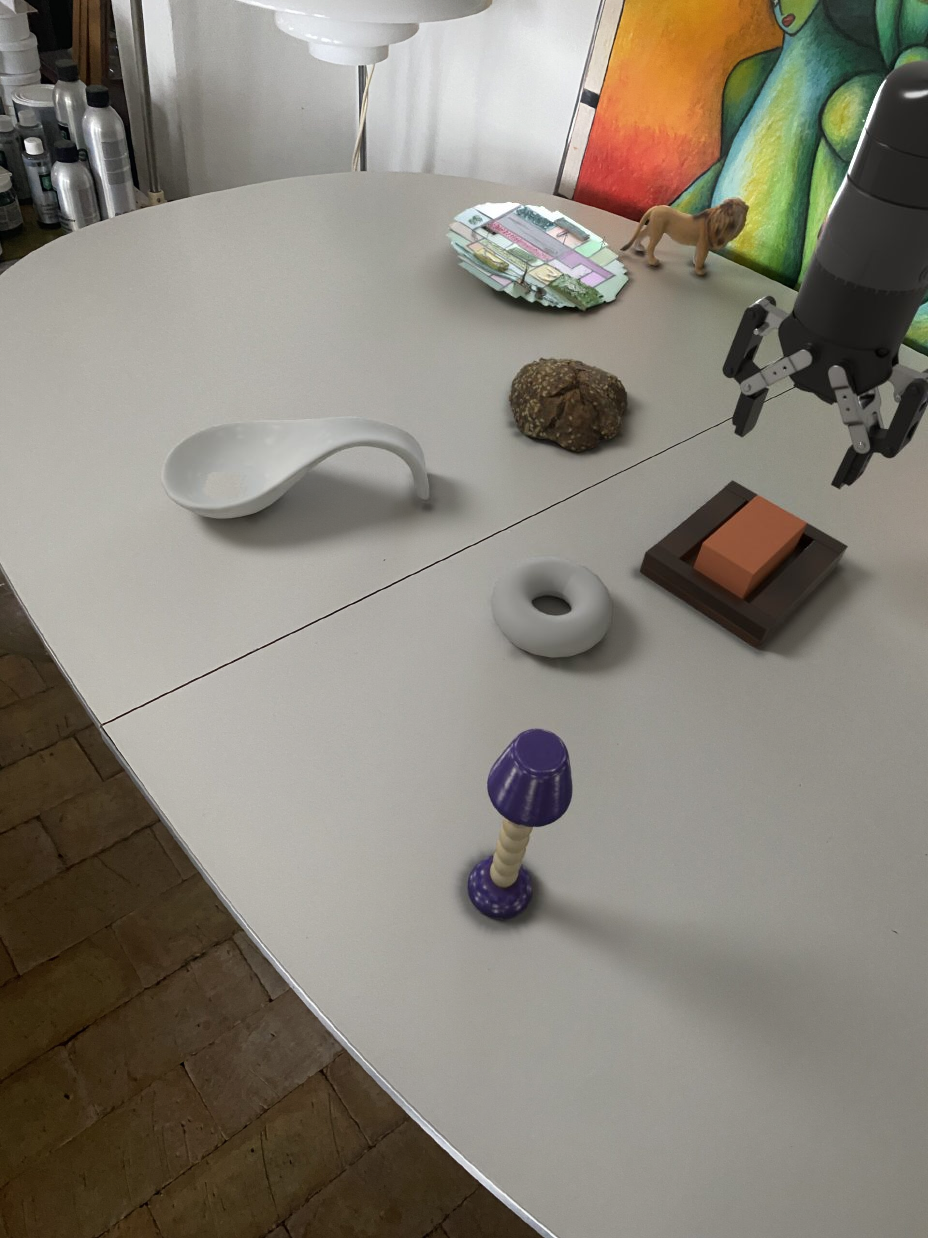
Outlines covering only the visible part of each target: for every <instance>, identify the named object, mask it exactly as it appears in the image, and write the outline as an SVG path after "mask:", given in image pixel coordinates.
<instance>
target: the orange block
mask: <svg viewBox="0 0 928 1238" xmlns="http://www.w3.org/2000/svg"><path fill="white" fill-rule="evenodd" d="M807 523H808V522H807V521H805V520H803V519H801V518H800V517H798V516H797V515H795V514H793V513H791V512H790V511H788V510H785V508H782V507H780V506H779V505H777V504H775V503H773V502H771V501H770V500H768V499H766V498H765V497H763V496H761V495H759V494H758V495H757V496H756V497H755V498H754V499H753V500H752V501H750V502H749V503H748V504H747V505H746V506H745V507H744V508H742V509H741V510H740V511H739V512H738V513H737V514H736V515H734V516H733V517H732V518H731V519H730V520H729V521H728V522H726V523H725V524H724V525H723V526H722V527H721V528H719V529H718V530H717V531H716V532H715V533H714V534H713V535H711V536H710V537H709V538H708V539H707V540H706V541H705V542H703V544H702V547H701V549H700V552H699V555H698V557H697V560H696V563H695V565H694V569H696V570H697V571H699V572H701V573H702V574H704V575H705V576H707V577H708V578H710V579H712V580H713V581H715V582H716V583H718V584H719V585H721V586H723V587H724V588H726V589H727V590H729V591H731V592H732V593H734V594H735V595H737V596H738V597H740V598H742V599H743V600H744V599H745V598H746V597H747V596H748V595H749V594H750V593H751V592H752V591H753V590H754V589H755V588H757V587H758V586H759V585H760V584H761V583H762V582H763V581H764V580H765V579H766V578H767V577H768V576H769V575H770V574H771V573H772V572H773V571H774V570H775V569H776V568H777V567H778V566H779V565H780V564H781V563H782V562H783V561H784V560H785V559H786V558H787V557H788V556H789V555H790V554H791V553H792V552H793V551H794V550H795V548H796V546H797V544H798V542H799V539H800V537H801V535H802V533H803V531H804V529H805V527H806V525H807Z"/></svg>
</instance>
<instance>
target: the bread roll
mask: <svg viewBox="0 0 928 1238" xmlns="http://www.w3.org/2000/svg"><path fill="white" fill-rule="evenodd" d="M508 401H509V402H510V403H509V407H510V409H511V412H512V413H513V418H514V421H515V425H516V428H517V429H518V430H519V431H520V432H521V433H522V434H523V435H524V436H527V437H530V438H536V439H542V440H551V441H553V442H554V443H557V444H559V445H560V446H561V447H562V448H563V449H565V450H568V451H572V452H576V453H579V452H583V451H588V450H590V449H593V448H595V447H596V446H597V445H598V443H599V442H602V441H608V440H611V439H614V438H615V437H616V436H618V432H619V430H620V429H621V428H622V424H623V421H622V416H623V413H624V412H625V410H626V409H627V407H628V405H629V404H628V391H626V387H625V386H624V384H623V382H622V380H620V379H618V376H617V375H615V374H613V373H610V372H608V371H606V370H603V369H601V368H599V367H597V366H595V365H594V366H591V365H589V364H586V363H584V362H583V361H581V360H576V359H572V358H560V359H557V358H554V357H550V358H544V357H540V358H539V359H538V361H537V360H533V362H531V363H526V364H524V365H523V366H522V367H521V368H520V370H519V372H517V373H516V376H514V378H513V380H512V382H511V386H510V395H509V396H508Z"/></svg>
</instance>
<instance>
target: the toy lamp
mask: <svg viewBox="0 0 928 1238" xmlns="http://www.w3.org/2000/svg"><path fill="white" fill-rule="evenodd" d="M572 776H573V775H572V768H571V759H570V754H569V750H568V748H567V745H566V743H565V742H564V740H562V738H561V737H560V736H558V735H557V734H556V733H554V732H552V731H551V730H547V729H544V728H529V729H526V730H524V731H522V732H519V734H518V735H517V736H515V737H514V738H513V739H512V741H510V743H509V744H508V745H507V746H506V748H505V749H504V750H503V752H502V753H501V754H500V755H499V756H498V757H497V758H496V760H495V762H494V763H493V764H492V766H491V768H490V770H489V773H488V776H487V781H486V782H487V783H486V784H487V785H486V790H487V795H488V798H489V801H490V802H491V804H492V806H493V808H494V809H495V810H496V811H497V813H498V814H499V815H500V816H502V817H503V819H502V826H501V827H500V829H499V833H498V840H497V842H496V845H495V852H494V854H493V855H489V856H487V857H484V858H482V859H481V860H480V861H478V862H477V863H476V864H475V866H473V868H472V869H471V871H470V873H469V875H468V879H467V893H468V897H469V899H470V901H471V904H472V905H473V906H474V907H475V909H476V910H477V911H479V912H480V913H481V914H483V915H484V916H488V917H489V918H491V919H494V920H509V919H513V918H515V917H517V916H519V915H520V914H521V913H523V912H524V911H525V910H526V909H527V908H528V906H529V904H530V902H531V899H532V896H533V883H532V879H531V875H530V873H529V871H528V870H527V868H526V867H525V866H524V865H523V859H524V857H525V855H526V852H527V851H526V850H527V847H528V845H529V843H530V838H531V837H530V836H531V834H532V832H533V829H534V828H542V827H546V826H548V825H551V824H553V823H555V822H556V821H558V820H560V819H561V818H562V817H563V816H564V815H565V814H566V812H567V811H568V809H569V807H570V804H571V802H572V798H573V789H574V788H573V778H572Z"/></svg>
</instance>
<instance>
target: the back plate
mask: <svg viewBox="0 0 928 1238" xmlns="http://www.w3.org/2000/svg"><path fill="white" fill-rule="evenodd" d="M757 495H759V494H757V493H756V492H754V491H752V490H751V489H749V488H747V487H745V486H744V485H743V484H740V483H739V482H737V481H735V480H733V479H732V480H730V481H729V482H728V483H727V484H726V485H725V486H723V488H721V489H720V490H719V491H718V492H716V493H715V494H714V495H713V496H711V497H710V498H709V499H708V500H707V501H706V502H704V503H703V504H702V505H701V506H699V507H698V508H696V510H695V511H693V512H692V513H691V514H690V515H689V516H687V517H686V518H685V519H684V520H682V522H680V523H679V524H678V525H677V526H675V527H674V528H673V529H671V530H670V531H669V532H668V533H667V534H666V535H664V536H663V537H662V538H661V539H660V540H658V541H657V542H656V543H654V544H653V545H652V546H650V547H649V548H648V549H647V550H646V551H645V552H644V556H643V559H642V562H641V566H640V569H639V573H641V574H642V575H644V576H645V577H647V578H648V579H649V580H651V581H653V582H654V583H656V584H657V585H658V586H660V587H662V588H663V589H665V590H667V591H668V592H670V593H671V594H673V596H675V597H677V598H679V599H680V600H681V601H683V602H685V603H686V604H688V605H689V606H691V607H692V608H693V609H695V610H697V611H698V612H700V613H702V614H703V615H705V617H707V618H709V619H710V620H712V621H714V622H715V623H716V624H718V625H720V626H721V627H722V628H724V629H726V630H727V631H729V632H730V633H732V634H733V635H735V636H736V637H737V638H740V639H741V640H742V641H744V642H746V643H747V644H749V645H750V646H751V647H753V648H755V650H756V649H759V647H760V646H761V645H762V644H763V643H764V642H765V641H766V640H767V639H768V638H769V637H770V636H772V634H773V633H774V632H775V631H776V630H777V629H778V628H779V627H780V625H782V624H783V622H784V621H785V620H787V618H788V617H789V616H790V615H792V614H793V612H794V611H795V610H796V609H797V608H798V607H799V606H801V604H802V603H803V602H804V601H805V600H806V599H807V598H808V597H809V596H810V595H811V593H813V592H814V591H815V589H816V588H817V587H818V586H819V585H820V584H822V582H823V581H824V580H825V579H826V578H827V577H829V575H830V574H831V573H832V572H833V571H834V570H835V569H836V567H837V566H838V565H839V563H840V561H841V560H842V558H843V556H844V554H845V552H846V551H847V549H848V545H847V544H845V543H843V542H842V541H840V540H838V539H837V538H835V537H832V536H831V535H829V534H828V533H826V532H824V531H822V530H820V529H819V528H817V527H815V526H813V525H812V524H810V523H808V522H807V525H806V527H805V529H804V531H803V533H802V535H801V537H800V539H799V542H798V544H797V546H796V548H795V550H794V551H793V552H792V553H791V554H790V555H789V556H788V557H787V558H786V559H785V560H784V561H783V562H782V563H781V564H780V565H779V566H778V567H777V568H776V569H775V570H774V571H773V572H772V573H771V574H770V575H769V576H768V577H767V578H766V579H765V580H764V581H763V582H762V583H761V584H760V585H759V586H758V587H757V588H755V589H754V590H753V591H752V592H751V593H750V594H749V595H748V596H747V597H746V598H745V599H744V600H743V599H742V598H740V597H738V596H737V595H735V594H734V593H732V592H731V591H729V590H727V589H726V588H724V587H723V586H721V585H719V584H718V583H716V582H715V581H713V580H712V579H710V578H708V577H707V576H705V575H704V574H702V573H701V572H699V571H697V570H696V569H694V565H695V563H696V560H697V557H698V555H699V552H700V549H701V547H702V544H703V542H705V541H706V540H707V539H708V538H709V537H710V536H711V535H713V534H714V533H715V532H716V531H717V530H718V529H719V528H721V527H722V526H723V525H724V524H725V523H726V522H728V521H729V520H730V519H731V518H732V517H733V516H734V515H736V514H737V513H738V512H739V511H740V510H741V509H742V508H744V507H745V506H746V505H747V504H748V503H749V502H750V501H752V500H753V499H754V498H755V497H756V496H757Z"/></svg>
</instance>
